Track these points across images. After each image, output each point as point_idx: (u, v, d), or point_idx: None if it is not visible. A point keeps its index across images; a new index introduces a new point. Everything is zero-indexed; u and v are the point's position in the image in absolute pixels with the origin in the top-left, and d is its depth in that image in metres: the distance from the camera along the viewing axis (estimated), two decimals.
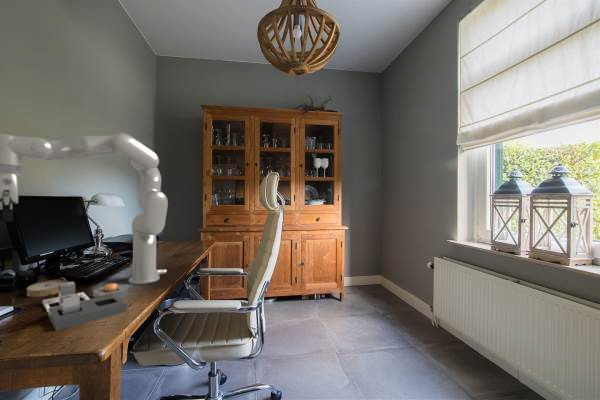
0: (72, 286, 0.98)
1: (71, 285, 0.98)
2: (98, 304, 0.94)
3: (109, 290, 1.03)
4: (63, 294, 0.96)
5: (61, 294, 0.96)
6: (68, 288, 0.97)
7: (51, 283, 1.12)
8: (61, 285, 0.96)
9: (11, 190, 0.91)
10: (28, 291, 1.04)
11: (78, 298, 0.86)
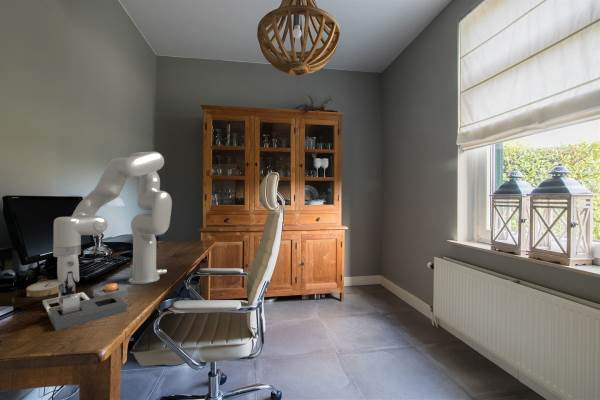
0: None
1: None
2: (98, 304, 0.94)
3: (109, 290, 1.03)
4: None
5: (61, 294, 0.96)
6: None
7: (51, 283, 1.12)
8: (61, 285, 0.96)
9: (74, 271, 0.96)
10: (28, 291, 1.04)
11: (78, 298, 0.86)
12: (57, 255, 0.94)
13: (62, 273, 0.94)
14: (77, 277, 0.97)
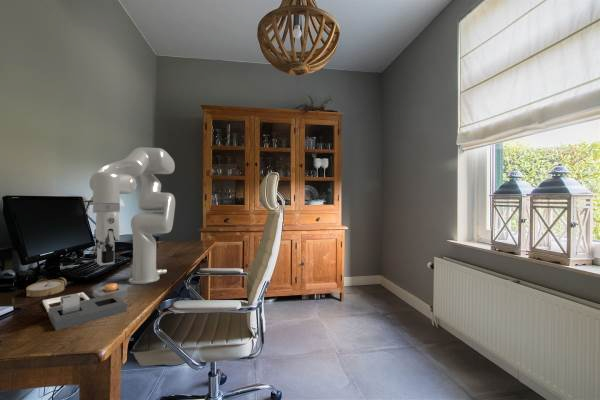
0: None
1: None
2: (98, 304, 0.94)
3: (109, 290, 1.03)
4: None
5: (101, 253, 0.90)
6: None
7: (51, 283, 1.12)
8: (100, 244, 0.91)
9: (114, 228, 0.91)
10: (28, 291, 1.04)
11: (78, 298, 0.86)
12: (97, 211, 0.89)
13: (103, 230, 0.89)
14: (117, 235, 0.91)
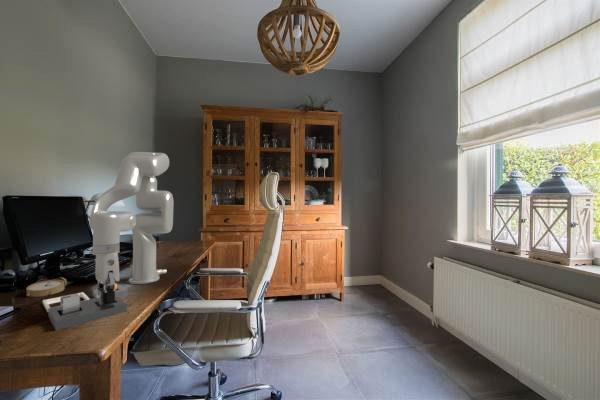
0: None
1: None
2: None
3: None
4: (102, 300, 0.91)
5: (100, 300, 0.90)
6: None
7: (51, 283, 1.12)
8: (100, 291, 0.91)
9: (114, 270, 0.91)
10: (28, 291, 1.04)
11: (78, 298, 0.86)
12: (97, 253, 0.89)
13: (103, 272, 0.89)
14: (117, 276, 0.91)
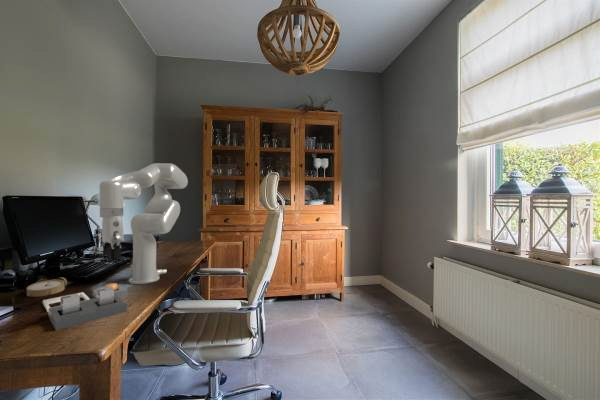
0: (111, 291, 0.93)
1: (110, 290, 0.92)
2: None
3: None
4: (102, 300, 0.91)
5: (100, 300, 0.90)
6: (107, 294, 0.92)
7: (51, 283, 1.12)
8: (100, 291, 0.91)
9: (119, 231, 1.02)
10: (28, 291, 1.04)
11: (78, 298, 0.86)
12: (104, 216, 1.01)
13: (109, 232, 1.00)
14: (122, 237, 1.03)
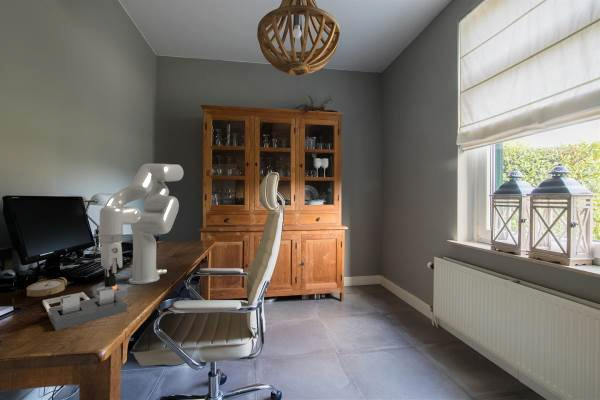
0: (111, 291, 0.93)
1: (110, 290, 0.92)
2: None
3: None
4: (102, 300, 0.91)
5: (100, 300, 0.90)
6: (107, 294, 0.92)
7: (51, 283, 1.12)
8: (100, 291, 0.91)
9: (118, 257, 1.02)
10: (28, 291, 1.04)
11: (78, 298, 0.86)
12: (103, 242, 1.01)
13: (108, 259, 1.00)
14: (121, 263, 1.03)
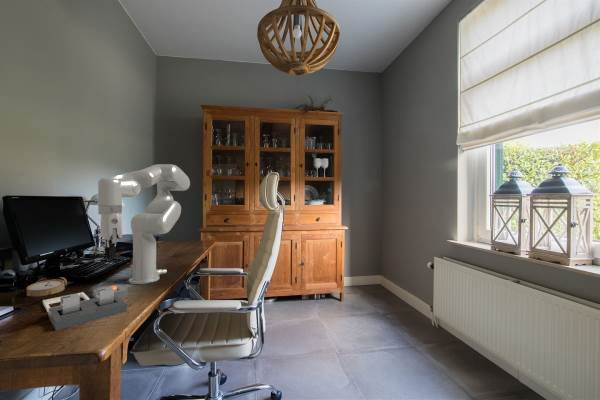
0: (111, 291, 0.93)
1: (110, 290, 0.92)
2: None
3: None
4: (102, 300, 0.91)
5: (100, 300, 0.90)
6: (107, 294, 0.92)
7: (51, 283, 1.12)
8: (100, 291, 0.91)
9: (118, 228, 1.03)
10: (28, 291, 1.04)
11: (78, 298, 0.86)
12: (102, 213, 1.02)
13: (108, 229, 1.01)
14: (120, 234, 1.04)
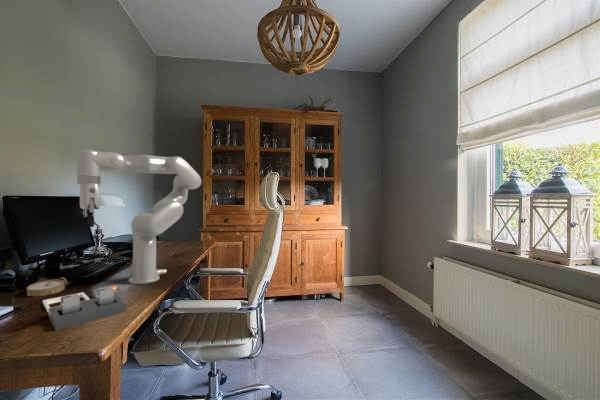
0: (111, 291, 0.93)
1: (110, 290, 0.92)
2: None
3: None
4: (102, 300, 0.91)
5: (100, 300, 0.90)
6: (107, 294, 0.92)
7: (51, 283, 1.12)
8: (100, 291, 0.91)
9: (95, 198, 1.06)
10: (28, 291, 1.05)
11: (78, 298, 0.86)
12: (80, 182, 1.05)
13: (85, 198, 1.04)
14: (98, 204, 1.07)
